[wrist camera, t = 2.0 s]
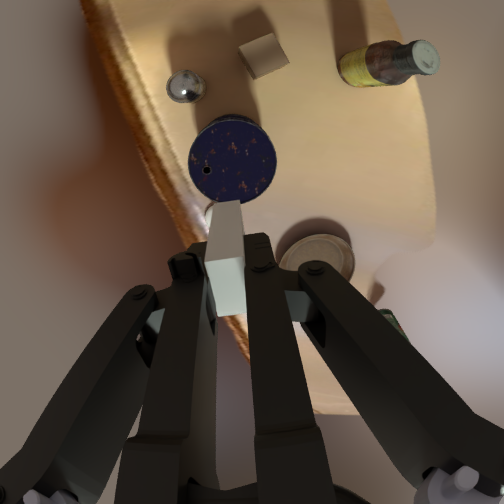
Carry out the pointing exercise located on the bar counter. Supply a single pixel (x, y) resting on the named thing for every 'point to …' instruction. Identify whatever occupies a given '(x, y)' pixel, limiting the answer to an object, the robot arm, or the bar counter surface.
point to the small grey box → (263, 56)
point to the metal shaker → (185, 87)
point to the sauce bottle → (388, 63)
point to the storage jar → (232, 160)
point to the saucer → (321, 254)
